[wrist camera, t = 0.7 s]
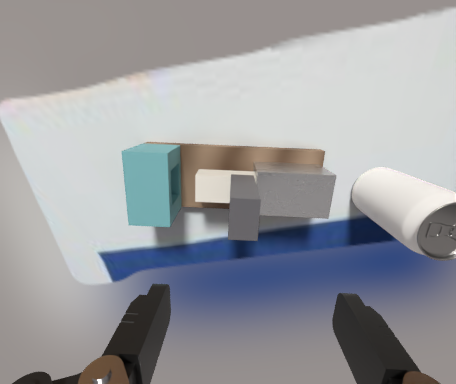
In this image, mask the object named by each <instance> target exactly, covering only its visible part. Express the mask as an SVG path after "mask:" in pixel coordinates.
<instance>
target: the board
mask: <svg viewBox="0 0 456 384" xmlns="http://www.w3.org/2000/svg"><path fill="white" fill-rule="evenodd" d="M143 144H166V145H180V161H181V207H202V208H224V209H229V206H230V203H214V202H195V175H196V173H197V172H198V170H199V169H209V170H232V171H253V162H276V163H299V164H319V165H321V166H322V167H323V161H324V155H325V151H323V150H318V149H295V148H272V147H249V146H227V145H204V144H181V143H158V142H146V143H143Z"/></svg>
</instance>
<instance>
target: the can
mask: <svg viewBox="0 0 456 384" xmlns="http://www.w3.org/2000/svg"><path fill="white" fill-rule="evenodd" d="M352 199H353V202H354V204H355V206H356V207H357V208H358V209H359V210H360V211H362V212H363V213H364V214H365V215H367V216H368V217H369V218H370V219H372V220H373V221H374V222H376V223H377V224H378V225H379V226H381V227H382V228H383V229H384V230H386V231H387V232H388V233H390V234H391V235H392V236H393V237H395V238H396V239H397V240H399V241H400V242H401V243H402V244H404V245H405V246H407V247H408V248H409V249H411V250H412V251H414V252H416V253H419V254H423V255H426V256H427V257H429V258H431V259H435V260H441V261H445V260H452V259H456V192H453V191H451V190H448V189H445V188H443V187H440V186H437V185H434V184H432V183H429V182H426V181H424V180H421V179H418V178H415V177H413V176H410V175H407V174H404V173H402V172H399V171H396V170H393V169H390V168H386V167H377V168H373V169H370V170H368V171H366V172H365V173H363V174H362V175H361V176H360V177H359V178H358V179H357V181H356V182H355V184H354V186H353V190H352Z"/></svg>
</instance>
